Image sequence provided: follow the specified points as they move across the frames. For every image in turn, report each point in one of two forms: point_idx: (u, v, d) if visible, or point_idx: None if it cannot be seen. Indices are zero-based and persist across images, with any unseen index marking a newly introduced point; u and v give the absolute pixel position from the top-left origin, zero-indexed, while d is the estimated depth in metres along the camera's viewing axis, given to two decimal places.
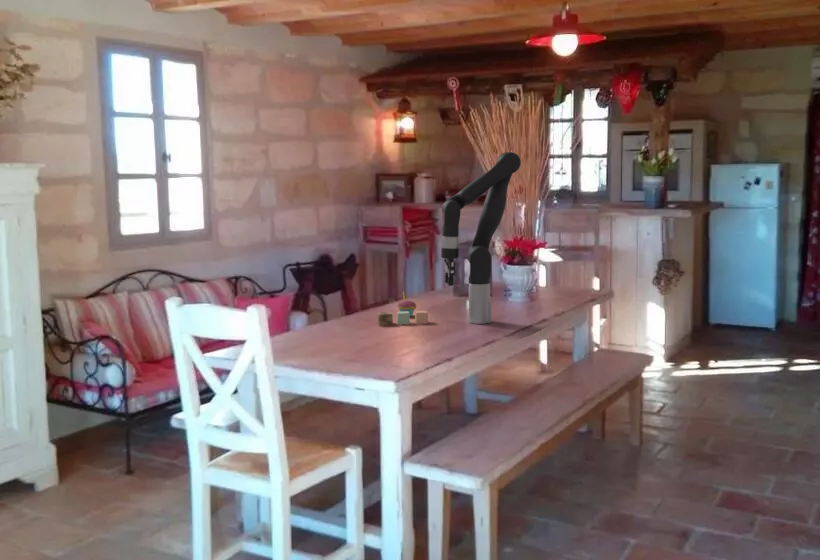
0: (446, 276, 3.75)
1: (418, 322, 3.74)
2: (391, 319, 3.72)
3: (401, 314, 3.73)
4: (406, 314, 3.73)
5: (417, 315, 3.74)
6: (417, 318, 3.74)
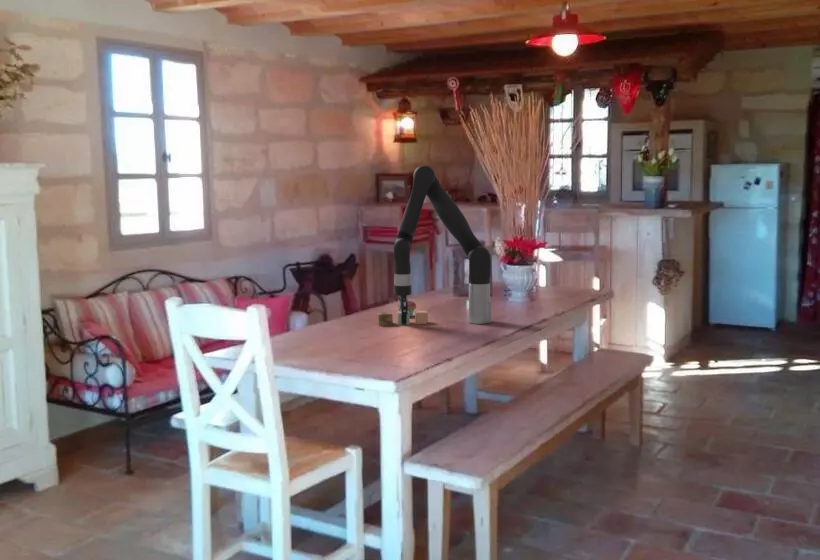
0: None
1: (418, 322, 3.74)
2: (391, 319, 3.72)
3: None
4: None
5: (417, 315, 3.74)
6: (417, 318, 3.74)
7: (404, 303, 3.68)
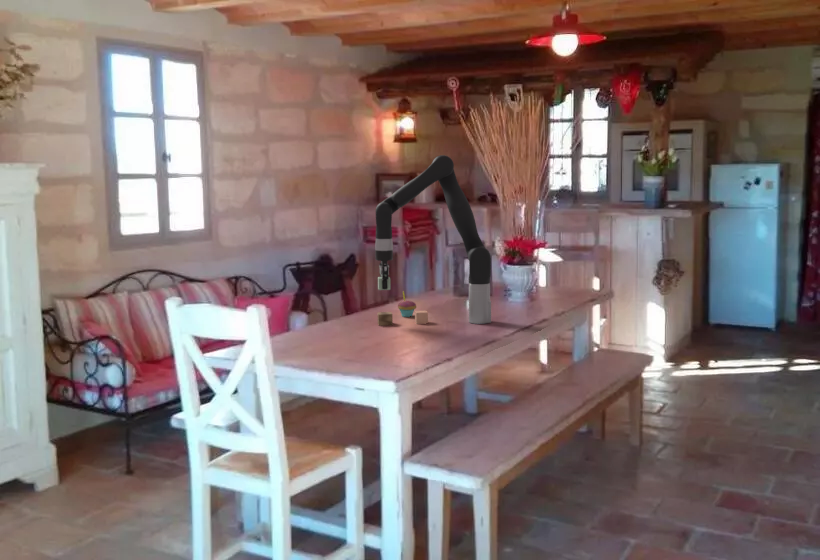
0: None
1: (418, 322, 3.74)
2: (391, 319, 3.72)
3: None
4: None
5: (417, 315, 3.74)
6: (417, 318, 3.74)
7: (385, 268, 3.65)
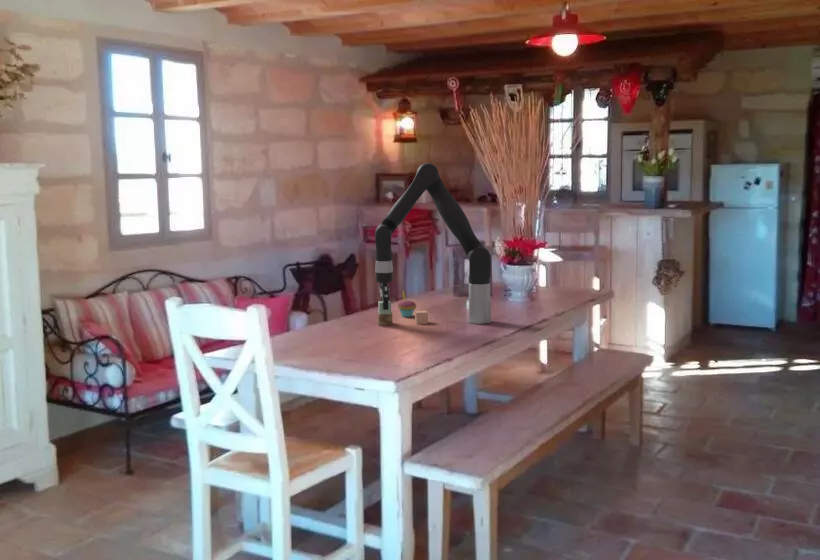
0: (382, 300, 3.77)
1: (418, 322, 3.74)
2: (391, 319, 3.72)
3: (382, 303, 3.71)
4: None
5: (417, 315, 3.74)
6: (417, 318, 3.74)
7: (385, 287, 3.66)
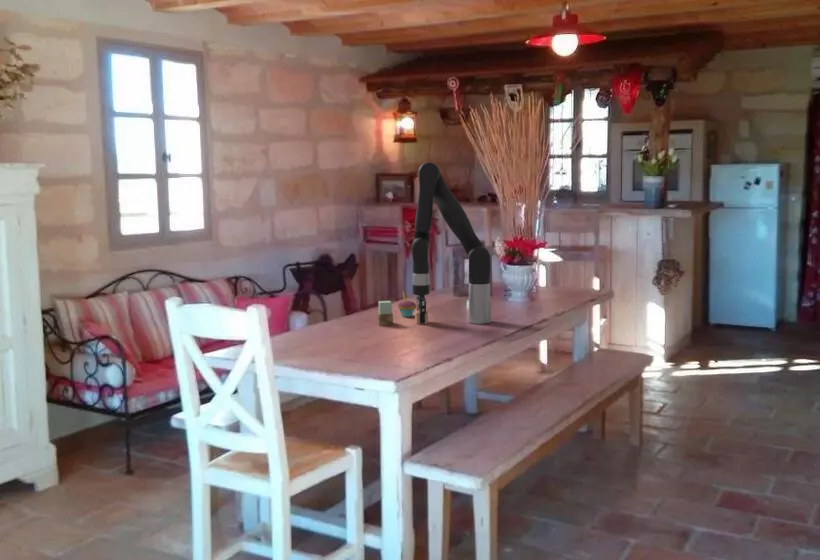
0: None
1: (418, 322, 3.74)
2: (391, 319, 3.72)
3: (383, 303, 3.71)
4: (388, 303, 3.72)
5: (417, 315, 3.74)
6: (417, 318, 3.74)
7: (423, 302, 3.69)
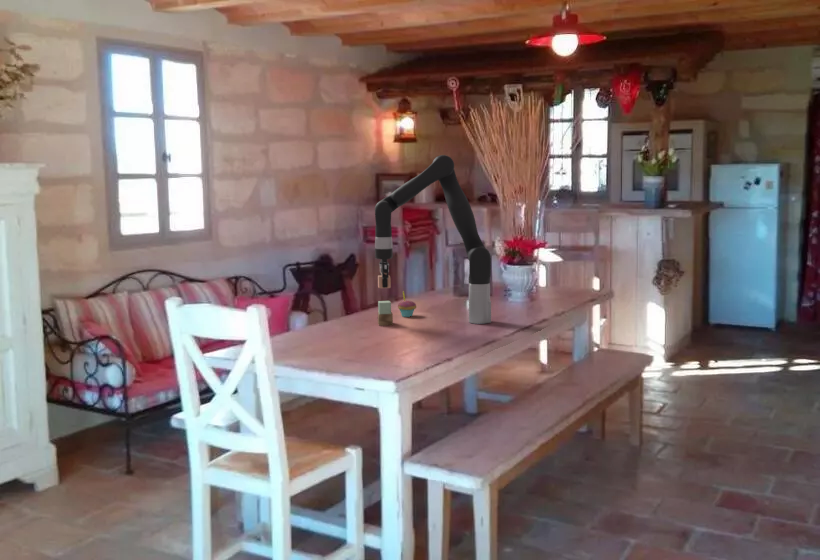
0: None
1: (380, 286, 3.70)
2: (391, 319, 3.72)
3: (382, 303, 3.71)
4: (387, 303, 3.72)
5: (379, 279, 3.70)
6: (379, 282, 3.70)
7: (385, 266, 3.65)
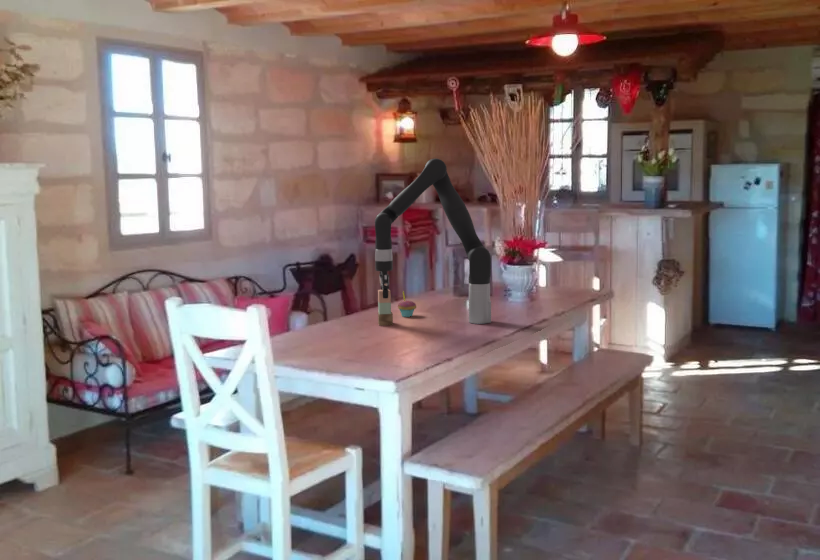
0: (382, 289, 3.77)
1: (381, 301, 3.71)
2: (391, 319, 3.72)
3: (382, 303, 3.71)
4: (387, 303, 3.72)
5: (380, 294, 3.71)
6: (380, 297, 3.71)
7: (385, 276, 3.65)
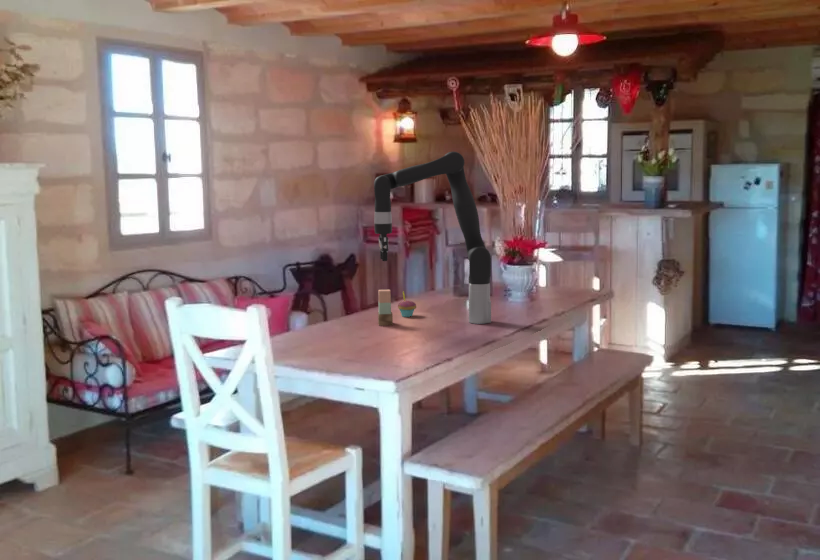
0: (381, 252, 3.75)
1: (381, 301, 3.71)
2: (391, 319, 3.72)
3: (382, 303, 3.71)
4: (387, 303, 3.71)
5: (379, 294, 3.71)
6: (380, 297, 3.71)
7: (384, 238, 3.63)
